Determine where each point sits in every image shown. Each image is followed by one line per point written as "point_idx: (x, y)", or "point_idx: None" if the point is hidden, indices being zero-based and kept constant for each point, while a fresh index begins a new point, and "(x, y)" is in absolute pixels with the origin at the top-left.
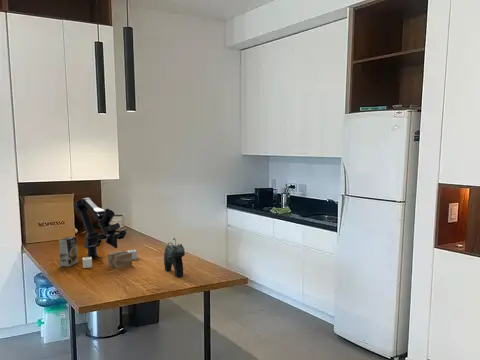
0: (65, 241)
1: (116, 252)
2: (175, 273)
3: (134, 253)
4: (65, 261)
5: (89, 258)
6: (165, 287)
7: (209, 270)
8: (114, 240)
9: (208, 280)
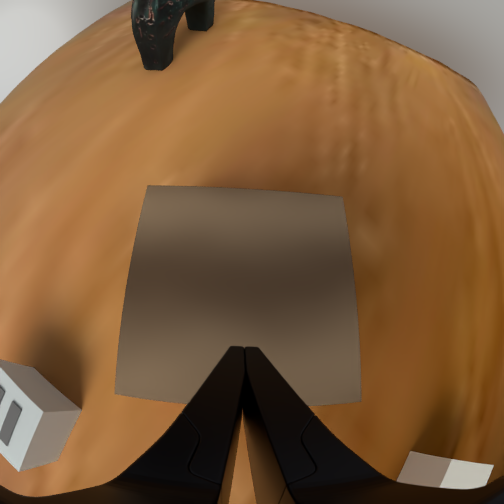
0: None
1: None
2: (210, 19)
3: (15, 372)
4: None
5: (454, 481)
6: (292, 17)
7: (108, 29)
8: (223, 491)
9: None
